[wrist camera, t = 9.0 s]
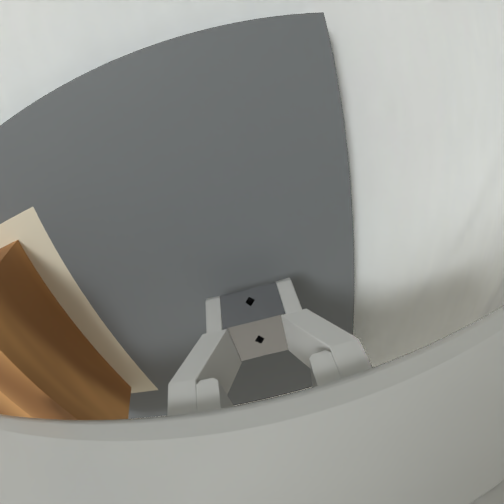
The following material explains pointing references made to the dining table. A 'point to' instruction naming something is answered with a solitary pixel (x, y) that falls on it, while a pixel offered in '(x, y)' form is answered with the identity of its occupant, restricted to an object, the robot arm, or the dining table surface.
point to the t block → (49, 353)
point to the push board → (187, 195)
